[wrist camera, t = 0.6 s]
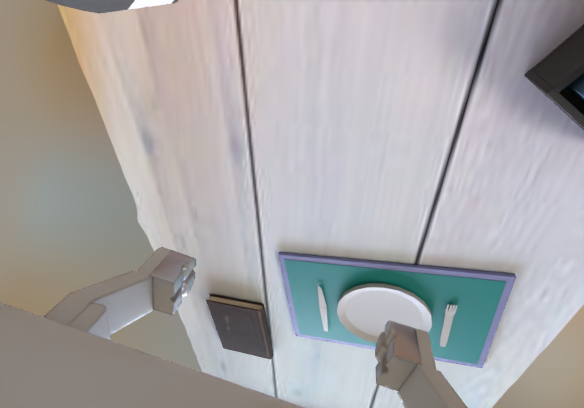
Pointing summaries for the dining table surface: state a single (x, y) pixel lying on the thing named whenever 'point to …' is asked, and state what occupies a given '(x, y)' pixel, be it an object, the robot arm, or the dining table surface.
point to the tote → (562, 75)
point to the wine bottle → (110, 4)
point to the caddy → (577, 88)
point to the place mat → (395, 303)
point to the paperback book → (241, 325)
